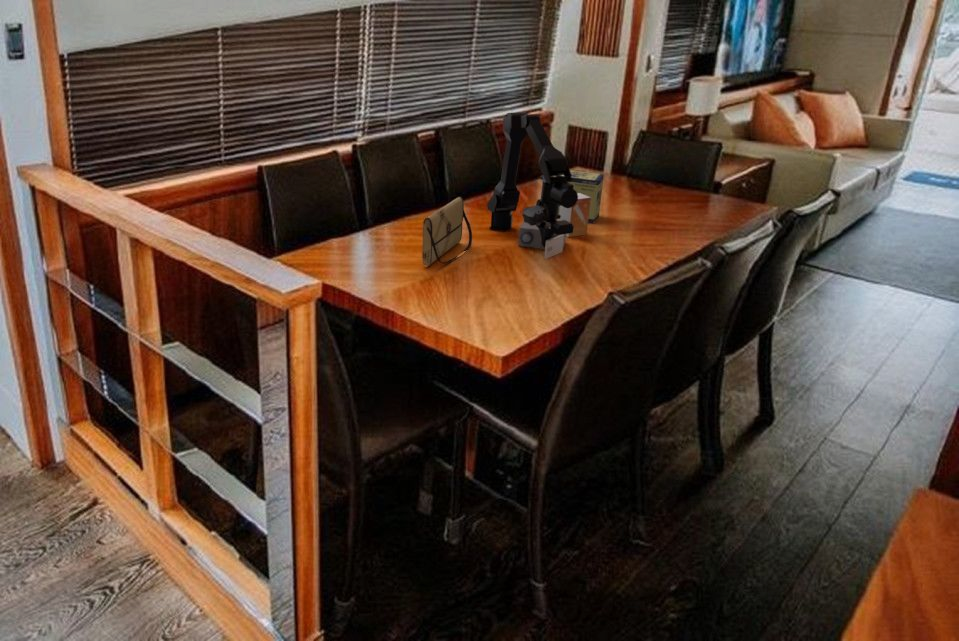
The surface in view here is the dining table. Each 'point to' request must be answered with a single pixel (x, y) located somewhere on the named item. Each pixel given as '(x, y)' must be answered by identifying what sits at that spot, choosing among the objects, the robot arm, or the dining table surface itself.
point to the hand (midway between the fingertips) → (544, 246)
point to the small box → (577, 215)
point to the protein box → (588, 190)
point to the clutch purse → (444, 231)
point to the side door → (554, 246)
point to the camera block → (531, 236)
